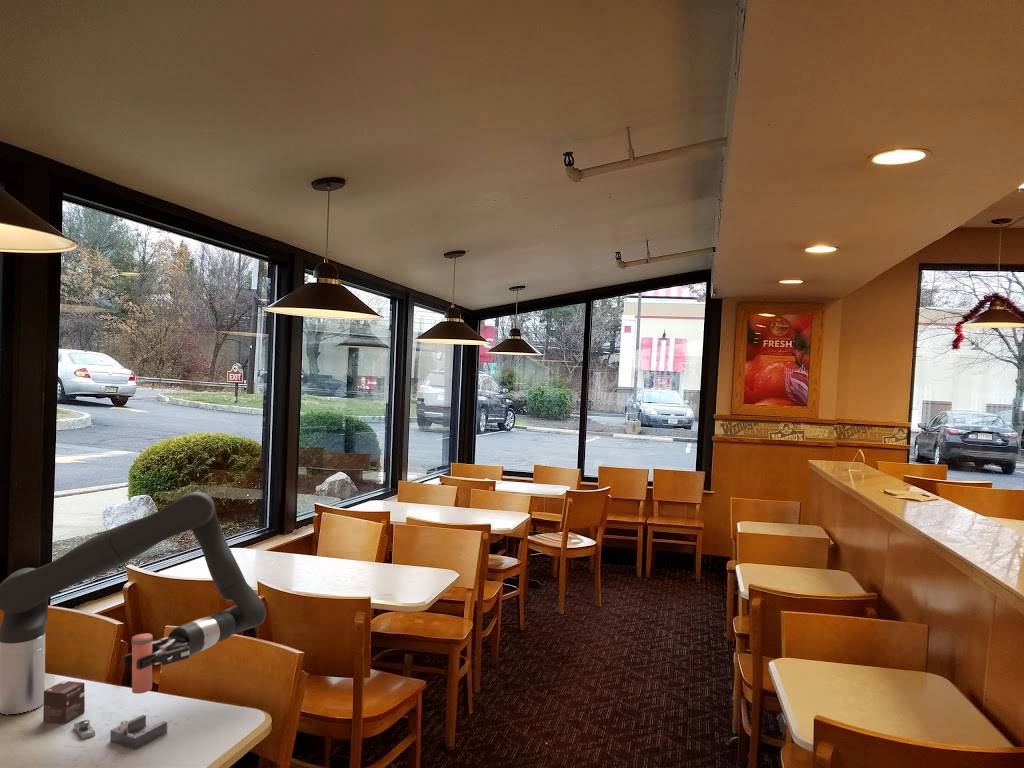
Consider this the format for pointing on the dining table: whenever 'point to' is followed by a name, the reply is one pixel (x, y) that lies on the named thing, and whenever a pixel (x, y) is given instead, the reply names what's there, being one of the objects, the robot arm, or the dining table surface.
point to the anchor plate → (84, 729)
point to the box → (64, 702)
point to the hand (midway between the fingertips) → (130, 663)
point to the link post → (143, 676)
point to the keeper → (132, 741)
